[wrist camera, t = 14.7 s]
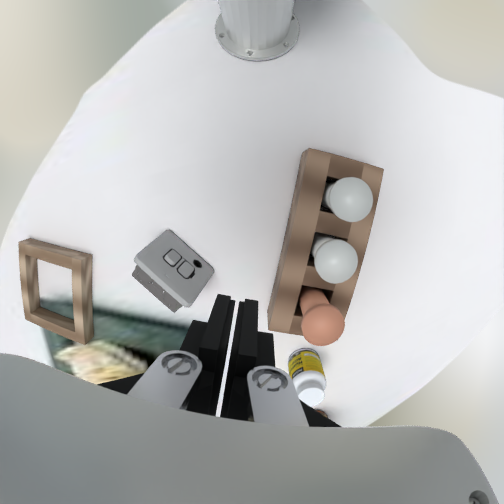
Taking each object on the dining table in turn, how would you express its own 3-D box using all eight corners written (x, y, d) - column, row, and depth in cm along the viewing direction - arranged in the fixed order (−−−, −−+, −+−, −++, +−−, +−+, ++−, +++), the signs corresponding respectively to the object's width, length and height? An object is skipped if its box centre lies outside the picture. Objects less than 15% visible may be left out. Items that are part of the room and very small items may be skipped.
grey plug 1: (317, 174, 38) (336, 172, 28) (349, 183, 38) (376, 183, 28) (310, 208, 39) (326, 216, 29) (342, 215, 39) (367, 226, 29)
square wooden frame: (30, 238, 42) (18, 241, 39) (92, 254, 43) (81, 260, 39) (35, 312, 46) (25, 319, 43) (93, 336, 46) (85, 345, 43)
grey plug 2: (306, 223, 40) (322, 236, 30) (338, 230, 40) (362, 245, 30) (299, 256, 41) (311, 279, 31) (330, 262, 41) (351, 286, 31)
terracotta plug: (297, 275, 40) (308, 304, 30) (329, 281, 40) (350, 311, 30) (289, 306, 41) (297, 343, 31) (320, 311, 41) (337, 348, 31)
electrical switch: (216, 269, 43) (199, 297, 34) (195, 292, 44) (176, 322, 35) (169, 227, 41) (141, 245, 32) (150, 251, 43) (121, 273, 34)
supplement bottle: (296, 343, 45) (304, 379, 35) (324, 352, 45) (337, 388, 36) (282, 367, 46) (285, 405, 37) (309, 376, 47) (318, 413, 37)
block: (302, 153, 38) (309, 148, 32) (367, 170, 38) (383, 169, 33) (267, 311, 44) (268, 330, 38) (328, 321, 44) (337, 340, 38)
